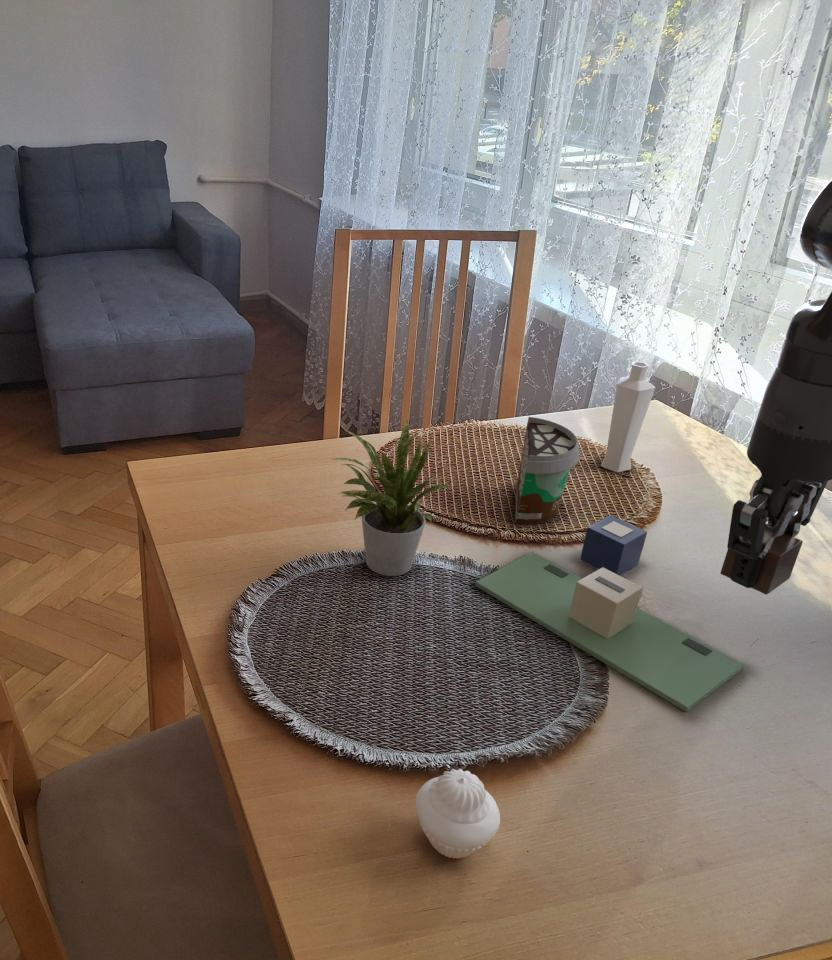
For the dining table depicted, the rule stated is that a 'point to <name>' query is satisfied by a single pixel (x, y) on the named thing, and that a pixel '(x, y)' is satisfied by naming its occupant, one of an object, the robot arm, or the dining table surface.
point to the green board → (632, 651)
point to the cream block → (605, 602)
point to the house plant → (391, 507)
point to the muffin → (457, 813)
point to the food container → (544, 470)
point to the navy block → (613, 545)
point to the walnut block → (771, 563)
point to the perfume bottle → (627, 417)
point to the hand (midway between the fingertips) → (755, 573)
